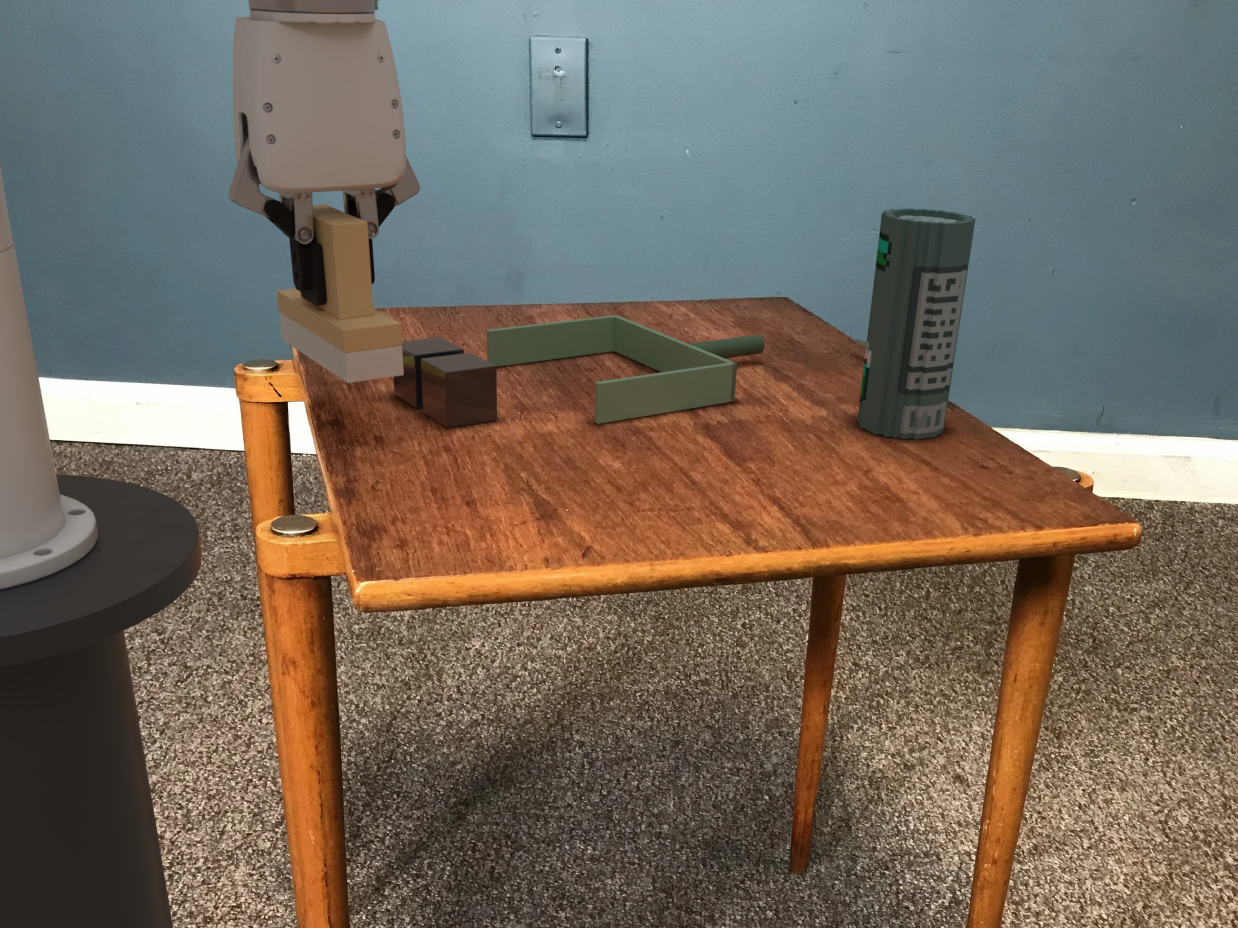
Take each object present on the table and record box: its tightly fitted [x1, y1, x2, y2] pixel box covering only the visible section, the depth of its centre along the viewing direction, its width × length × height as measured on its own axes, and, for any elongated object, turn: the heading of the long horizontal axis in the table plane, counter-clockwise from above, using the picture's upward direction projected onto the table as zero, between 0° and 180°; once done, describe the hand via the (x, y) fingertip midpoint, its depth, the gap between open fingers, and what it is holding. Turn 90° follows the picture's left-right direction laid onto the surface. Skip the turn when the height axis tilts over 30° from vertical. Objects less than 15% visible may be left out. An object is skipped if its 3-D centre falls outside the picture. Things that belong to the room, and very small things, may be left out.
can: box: [856, 207, 976, 440], centre depth 93 cm, size 6×6×15 cm
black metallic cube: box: [392, 336, 465, 410], centre depth 97 cm, size 4×4×4 cm
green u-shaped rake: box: [486, 314, 766, 425], centre depth 105 cm, size 22×17×3 cm
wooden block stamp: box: [276, 204, 404, 384], centre depth 88 cm, size 4×12×10 cm, turn 34°
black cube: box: [421, 352, 498, 429], centre depth 93 cm, size 4×4×4 cm
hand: (335, 296), depth 88 cm, fingers closed on wooden block stamp, 2 cm apart
